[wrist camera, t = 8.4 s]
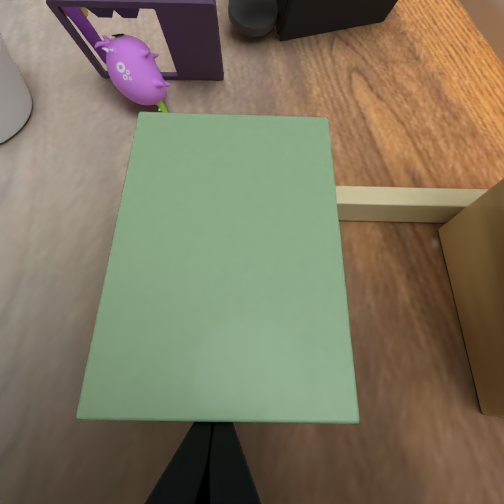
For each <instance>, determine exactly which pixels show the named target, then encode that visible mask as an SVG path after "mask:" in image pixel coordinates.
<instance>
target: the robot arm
mask: <svg viewBox="0 0 504 504" xmlns="http://www.w3.org/2000/svg"><path fill="white" fill-rule="evenodd" d="M144 504H261V502H260V499H259V496H258V494H257V491H256V488H255V485H254V482H253V479H252V476H251V473H250V471H249V468H248V465H247V462H246V459H245V456H244V453H243V450H242V447H241V445H240V442H239V439H238V436H237V433H236V430H235V427H234V424H233V422H196V421H195V422H194V423H193V425H192V427H191V428H190V430H189V432H188V433H187V435H186V436H185V438H184V440H183V441H182V443H181V445H180V446H179V448H178V450H177V451H176V453H175V454H174V456H173V458H172V459H171V461H170V463H169V464H168V466H167V468H166V469H165V471H164V472H163V474H162V476H161V477H160V479H159V481H158V482H157V484H156V485H155V487H154V489H153V490H152V492H151V494H150V495H149V497H148V499H147V500H146V502H145V503H144Z"/></svg>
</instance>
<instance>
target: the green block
mask: <svg viewBox="0 0 504 504" xmlns="http://www.w3.org/2000/svg"><path fill="white" fill-rule="evenodd" d="M76 418H77V419H79V420H128V421H196V422H264V423H333V424H357V423H359V412H358V402H357V392H356V383H355V373H354V363H353V354H352V344H351V334H350V325H349V315H348V305H347V296H346V286H345V276H344V267H343V257H342V247H341V238H340V228H339V218H338V209H337V199H336V189H335V180H334V170H333V160H332V151H331V141H330V131H329V122H328V118H327V117H302V116H268V115H233V114H199V113H165V112H139V114H138V118H137V123H136V128H135V133H134V138H133V143H132V148H131V152H130V157H129V162H128V167H127V172H126V177H125V181H124V186H123V191H122V196H121V201H120V206H119V211H118V215H117V220H116V225H115V230H114V235H113V240H112V244H111V249H110V254H109V259H108V264H107V269H106V273H105V278H104V283H103V288H102V293H101V298H100V303H99V307H98V312H97V317H96V322H95V327H94V332H93V336H92V341H91V346H90V351H89V356H88V361H87V366H86V370H85V375H84V380H83V385H82V390H81V395H80V399H79V404H78V409H77V414H76Z"/></svg>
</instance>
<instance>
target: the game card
mask: <svg viewBox="0 0 504 504" xmlns="http://www.w3.org/2000/svg"><path fill="white" fill-rule="evenodd" d="M46 4H47V5H48V6H49V8H50V9H51V10H52V12H53V13H54V14H55V16H56V17H57V18H58V20H59V21H60V22H61V24H62V25H63V26H64V28H65V29H66V30H67V32H68V33H69V34H70V36H71V37H72V38H73V40H74V41H75V42H76V44H77V45H78V46H79V48H80V49H81V50H82V52H83V53H84V54H85V55H86V57H87V58H88V59H89V61H90V62H91V63H92V65H93V66H94V67H95V69H96V70H97V71H98V73H99V74H100V75H101V77H103V78H110V79H111V80H112V82H113V84H114V85H115V86H116V88H117V89H118V90H119V91H120V92H121V93H122V94H123V95H124V96H126V97H127V98H128V99H130V100H131V101H133V102H135V103H138V104H141V105H157V106H158V107H159V109H158V111H161V112H165V113H169V112H168V110H167V108H166V106H165V104H164V102H163V99H164V98H165V96H166V87H168V86H170V83H169V82H166V81H164V80H163V79H182V80H223V79H224V72H223V63H222V54H221V45H220V36H219V27H218V18H217V9H216V1H215V0H46ZM140 8H142V9H154V10H155V11H156V14H157V17H158V20H159V22H160V25H161V28H162V31H163V34H164V37H165V40H166V42H167V45H168V48H169V51H170V54H171V57H172V60H173V62H174V65H175V68H176V71H177V72H160V71H159V69H158V67H157V65H156V63H155V60H154V59H155V58H156V57H157V56H158V54H154V53H151V51H150V49H149V48H148V46H147V45H146V44H145V43H144V42H142V41H141V40H139V39H137V38H135V37H132V36H129V35H124V34H116V35H112V36H115V38H114V39H113V38H111V40H110V39H109V38H108V37H107V36H105V35H103V38H104V39H105V41H102V40H101V38H100V37H99V35H98V34H97V32H96V31H95V29H94V28H93V26H92V25H91V23H90V22H89V21H88V20H87V18H86V17H87V16H88V10H90V11H91V12H92V13H94V14H95V15H96V16H97V17H108V18H112V15H113V10H114V11H116V12H117V13H118V14H119V15H120V16H122V17H123V18H137V16H138V12H139V9H140ZM87 9H88V10H87ZM66 15H67V16H68V17H69V18H70V19H71V20H72V21H73V22H74V23H75V25H76V26H77V27H78V28H79V30H80V31H81V33H82V34H83V35H84V37H85V38H86V39H87V41H88V42H89V43H90V44H91V46H92V47H93V48H94V50H95V51H96V52H97V54H98V55H99V56H100V58H101V59H102V61H103V62H104V63H105V64H107V70H108V71H105V70H104V68H103V67H102V66H101V64H100V63H99V61H98V60H97V59H96V57H95V56H94V54H93V53H92V52H91V50H90V49H89V47H88V46H87V45H86V43H85V42H84V40H83V39H82V38H81V36H80V35H79V33H78V32H77V30H76V29H75V28H74V26H73V25H72V23H71V22H70V21H69V19H68V18H67V16H66Z"/></svg>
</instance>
